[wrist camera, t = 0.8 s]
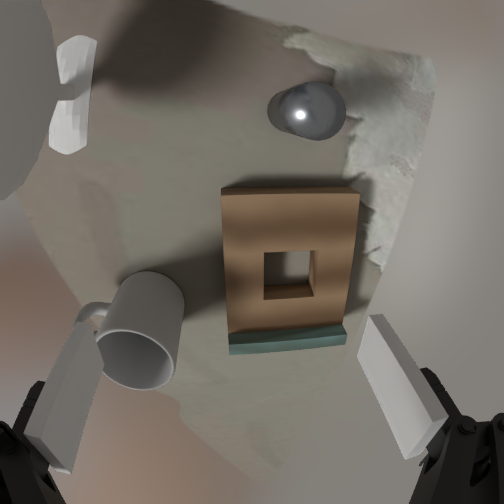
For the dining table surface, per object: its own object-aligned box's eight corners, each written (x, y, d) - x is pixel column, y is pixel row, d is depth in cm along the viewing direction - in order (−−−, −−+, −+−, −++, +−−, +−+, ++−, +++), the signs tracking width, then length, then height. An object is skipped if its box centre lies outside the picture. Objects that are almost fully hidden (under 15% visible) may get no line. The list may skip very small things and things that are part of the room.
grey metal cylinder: (267, 90, 29) (286, 79, 20) (310, 91, 29) (346, 84, 20) (267, 132, 30) (286, 139, 21) (309, 132, 31) (344, 141, 22)
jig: (221, 188, 32) (221, 201, 28) (349, 186, 34) (368, 199, 29) (228, 328, 40) (229, 354, 35) (333, 320, 41) (345, 344, 37)
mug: (188, 275, 36) (178, 336, 26) (182, 332, 40) (174, 396, 30) (91, 260, 34) (54, 313, 24) (95, 317, 38) (67, 375, 28)
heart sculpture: (60, 30, 23) (-46, -5, 6) (100, 24, 23) (4, -30, 7) (48, 163, 29) (-62, 215, 13) (86, 163, 30) (-20, 217, 13)
